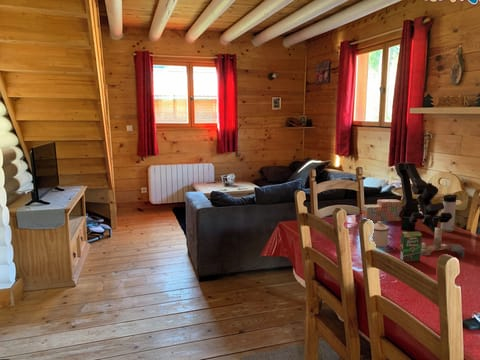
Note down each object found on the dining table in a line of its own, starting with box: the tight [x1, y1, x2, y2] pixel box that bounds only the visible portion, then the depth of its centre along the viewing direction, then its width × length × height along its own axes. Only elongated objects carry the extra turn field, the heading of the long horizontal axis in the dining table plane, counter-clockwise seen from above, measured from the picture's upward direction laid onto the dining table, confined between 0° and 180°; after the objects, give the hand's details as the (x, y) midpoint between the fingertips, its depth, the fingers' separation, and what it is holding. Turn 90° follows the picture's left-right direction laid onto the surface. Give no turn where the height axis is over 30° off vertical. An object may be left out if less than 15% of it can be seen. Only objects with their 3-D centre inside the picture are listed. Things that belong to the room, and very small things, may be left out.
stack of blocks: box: [361, 198, 403, 223], centre depth 222 cm, size 21×6×12 cm, turn 95°
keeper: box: [446, 243, 466, 259], centre depth 167 cm, size 5×6×4 cm
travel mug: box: [440, 194, 458, 233], centre depth 200 cm, size 6×7×20 cm
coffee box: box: [399, 231, 423, 263], centre depth 161 cm, size 8×3×13 cm, turn 90°
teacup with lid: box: [372, 221, 390, 248], centre depth 182 cm, size 12×9×12 cm
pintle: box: [420, 241, 432, 256], centre depth 170 cm, size 6×6×5 cm
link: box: [421, 226, 449, 254], centre depth 171 cm, size 16×5×10 cm, turn 107°
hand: (435, 233), depth 174 cm, fingers closed
